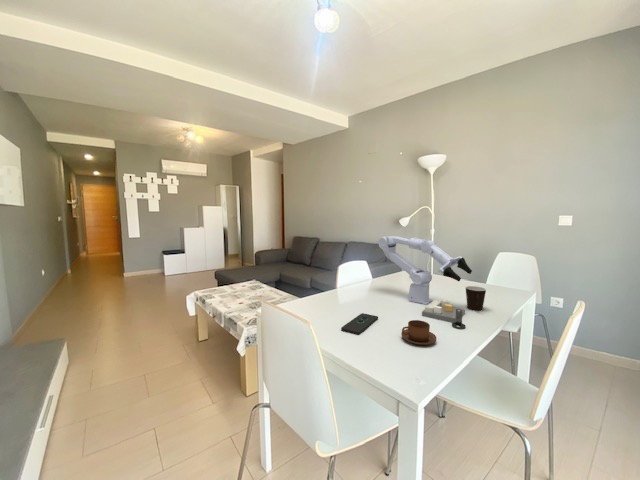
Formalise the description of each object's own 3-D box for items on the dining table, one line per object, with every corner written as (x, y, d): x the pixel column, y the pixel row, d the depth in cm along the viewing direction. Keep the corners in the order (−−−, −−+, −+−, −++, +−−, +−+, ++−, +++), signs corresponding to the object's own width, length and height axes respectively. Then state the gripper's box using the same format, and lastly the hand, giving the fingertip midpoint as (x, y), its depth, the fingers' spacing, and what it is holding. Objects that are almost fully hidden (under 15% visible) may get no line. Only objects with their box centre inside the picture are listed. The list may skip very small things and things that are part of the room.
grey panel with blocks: (421, 315, 125) (422, 305, 125) (433, 306, 137) (434, 297, 137) (455, 323, 116) (455, 312, 115) (464, 313, 128) (465, 303, 128)
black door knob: (450, 327, 112) (450, 310, 111) (453, 323, 116) (454, 307, 115) (463, 330, 109) (464, 312, 108) (466, 326, 113) (467, 309, 112)
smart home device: (379, 316, 122) (359, 332, 105) (378, 319, 122) (359, 336, 105) (361, 312, 126) (340, 327, 109) (361, 316, 126) (340, 331, 110)
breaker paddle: (444, 310, 125) (444, 305, 125) (445, 309, 127) (445, 304, 127) (451, 312, 123) (451, 306, 123) (452, 311, 125) (452, 305, 125)
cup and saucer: (417, 350, 93) (417, 333, 93) (394, 336, 104) (394, 320, 103) (443, 344, 98) (444, 327, 97) (419, 331, 109) (419, 315, 108)
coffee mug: (468, 304, 140) (468, 285, 139) (487, 308, 134) (488, 288, 133) (459, 310, 132) (460, 289, 131) (479, 314, 126) (480, 293, 125)
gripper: (433, 258, 131) (457, 278, 122) (454, 245, 136) (478, 263, 127) (430, 267, 136) (452, 287, 127) (450, 255, 141) (473, 273, 132)
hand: (465, 276), depth 128 cm, fingers open, 7 cm apart
